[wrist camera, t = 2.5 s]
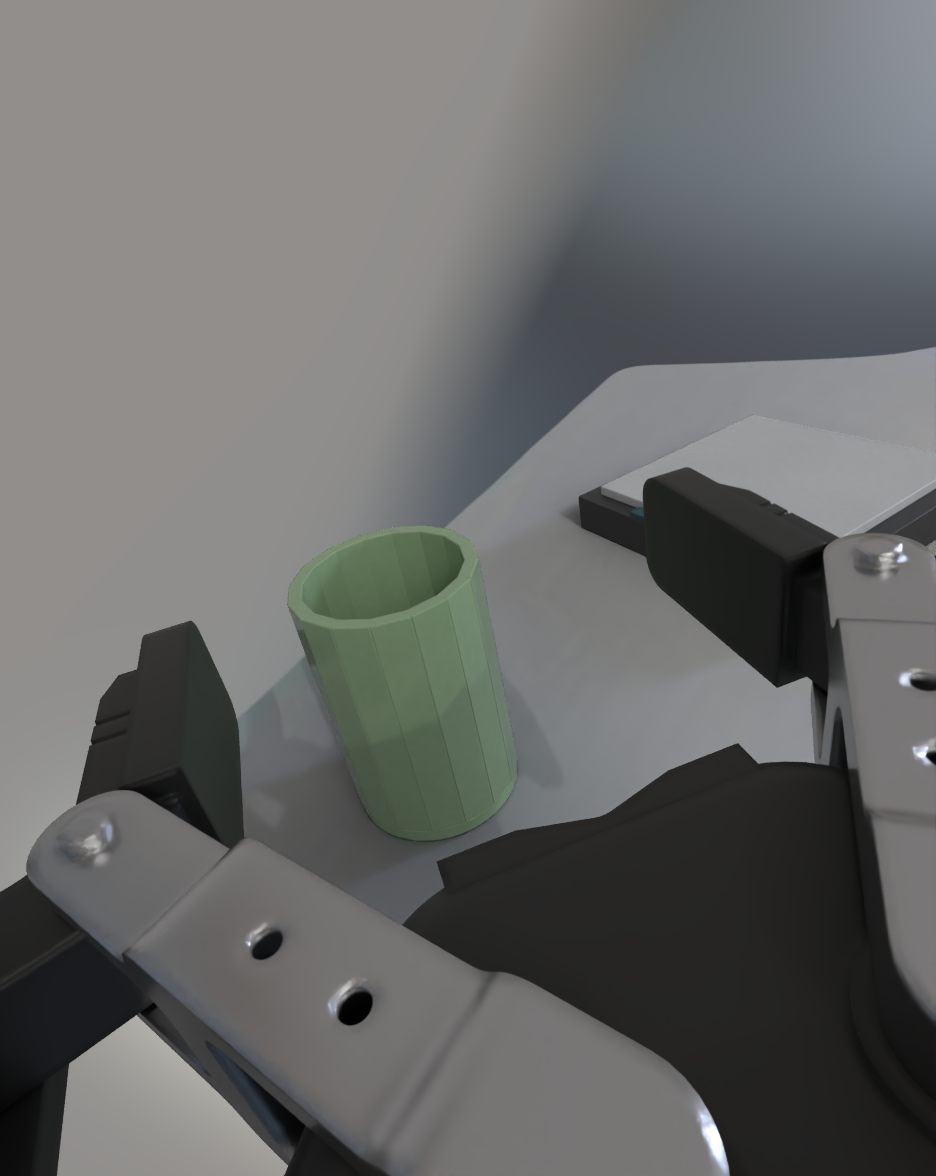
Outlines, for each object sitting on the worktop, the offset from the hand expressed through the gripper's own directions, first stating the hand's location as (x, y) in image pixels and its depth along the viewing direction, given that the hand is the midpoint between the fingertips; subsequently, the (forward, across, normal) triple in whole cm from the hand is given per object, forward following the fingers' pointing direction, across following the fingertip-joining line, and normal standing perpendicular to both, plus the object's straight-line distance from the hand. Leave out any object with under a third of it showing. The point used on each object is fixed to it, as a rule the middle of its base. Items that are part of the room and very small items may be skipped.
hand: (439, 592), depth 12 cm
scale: (+22, -24, +15) cm, 36 cm away
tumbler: (+11, 0, +15) cm, 19 cm away
